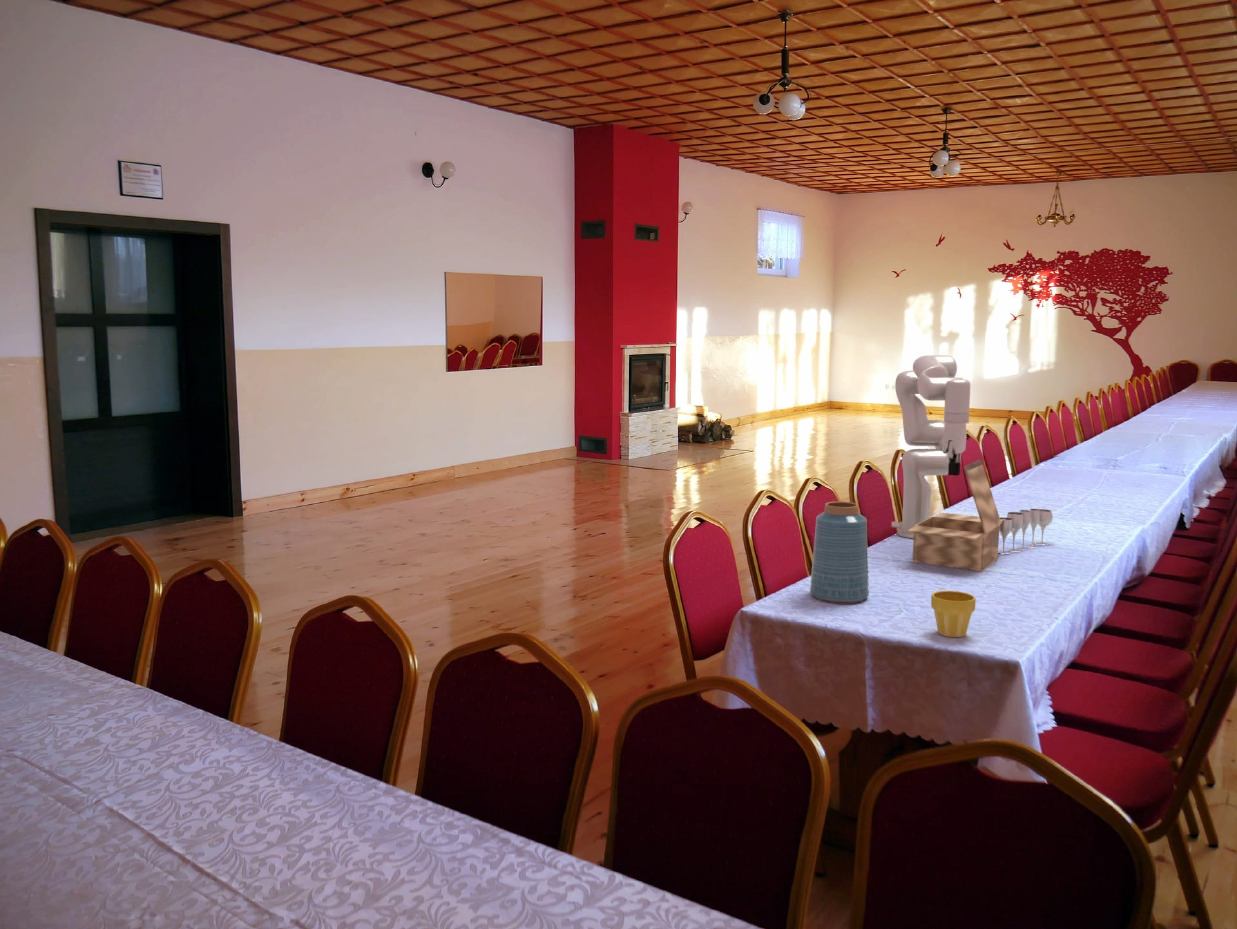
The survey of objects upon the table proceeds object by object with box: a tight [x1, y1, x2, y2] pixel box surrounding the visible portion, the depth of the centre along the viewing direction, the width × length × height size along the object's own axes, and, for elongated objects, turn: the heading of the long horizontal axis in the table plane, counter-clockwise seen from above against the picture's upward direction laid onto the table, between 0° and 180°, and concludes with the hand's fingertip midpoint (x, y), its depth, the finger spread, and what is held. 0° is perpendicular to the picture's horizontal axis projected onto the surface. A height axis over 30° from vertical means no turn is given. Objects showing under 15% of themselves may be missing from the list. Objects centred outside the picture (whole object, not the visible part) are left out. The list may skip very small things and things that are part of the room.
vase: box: [809, 500, 870, 605], centre depth 273 cm, size 16×16×27 cm
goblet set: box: [998, 508, 1054, 554], centre depth 330 cm, size 28×6×13 cm, turn 125°
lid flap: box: [963, 459, 1001, 534], centre depth 307 cm, size 22×18×1 cm
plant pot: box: [930, 590, 977, 638], centre depth 242 cm, size 10×10×10 cm
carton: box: [908, 512, 1004, 572], centre depth 314 cm, size 22×34×12 cm, turn 145°
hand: (953, 474), depth 312 cm, fingers closed
